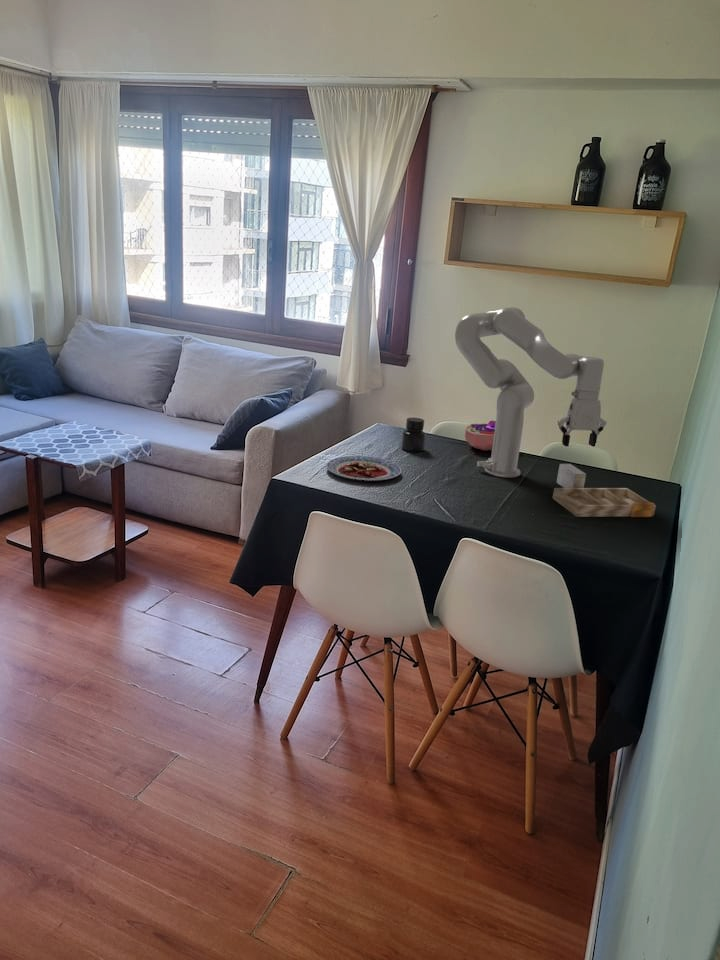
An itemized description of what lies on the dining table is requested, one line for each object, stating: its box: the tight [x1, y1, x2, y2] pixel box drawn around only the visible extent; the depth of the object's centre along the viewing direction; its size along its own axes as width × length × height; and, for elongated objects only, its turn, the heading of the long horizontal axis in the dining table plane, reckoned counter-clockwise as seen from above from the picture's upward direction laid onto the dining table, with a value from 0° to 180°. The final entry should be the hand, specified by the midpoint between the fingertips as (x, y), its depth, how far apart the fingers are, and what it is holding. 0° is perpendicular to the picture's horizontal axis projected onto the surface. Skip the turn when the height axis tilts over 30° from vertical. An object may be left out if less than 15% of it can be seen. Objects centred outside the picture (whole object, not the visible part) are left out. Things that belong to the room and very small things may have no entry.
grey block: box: [556, 463, 587, 488], centre depth 229 cm, size 4×11×7 cm, turn 11°
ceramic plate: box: [326, 455, 402, 482], centre depth 230 cm, size 26×26×3 cm
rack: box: [552, 487, 657, 518], centre depth 213 cm, size 26×17×4 cm, turn 101°
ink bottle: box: [401, 417, 426, 452], centre depth 260 cm, size 10×9×12 cm
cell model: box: [464, 420, 496, 452], centre depth 268 cm, size 17×20×11 cm
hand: (578, 445), depth 225 cm, fingers open, 9 cm apart
